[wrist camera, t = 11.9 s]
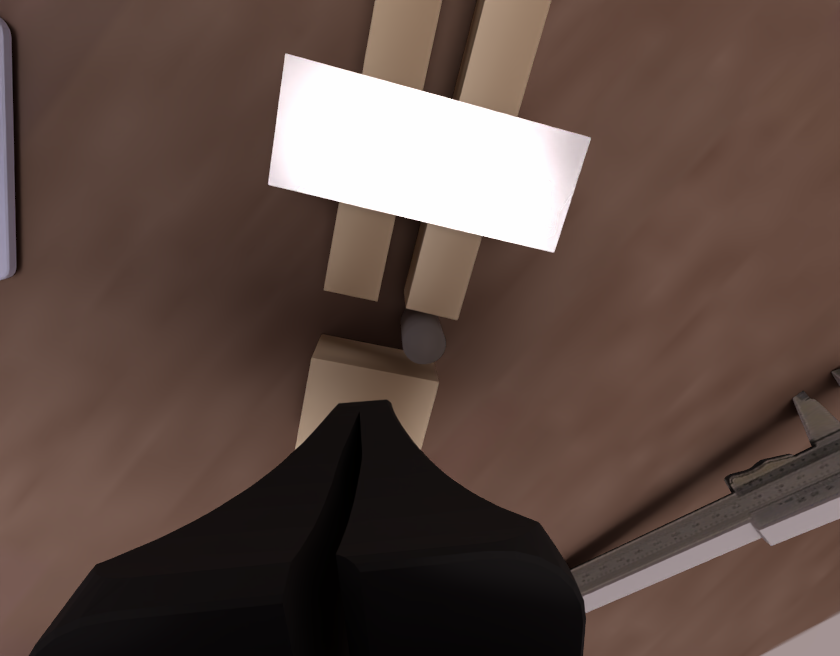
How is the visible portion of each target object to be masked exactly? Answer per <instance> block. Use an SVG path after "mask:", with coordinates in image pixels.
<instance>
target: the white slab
mask: <svg viewBox="0 0 840 656" xmlns="http://www.w3.org/2000/svg"><path fill="white" fill-rule="evenodd" d="M590 139H591V137H587V136H583V135H580V134H576V133H572V132H569V131H565V130H562V129H558V128H554V127H551V126H547V125H543V124H540V123H536V122H532V121H529V120H525V119H522V118H518V117H514V116H511V115H507V114H503V113H500V112H496V111H493V110H489V109H485V108H482V107H478V106H474V105H471V104H467V103H464V102H460V101H456V100H453V99H449V98H445V97H442V96H438V95H435V94H431V93H427V92H424V91H420V90H416V89H413V88H409V87H406V86H402V85H398V84H395V83H391V82H387V81H384V80H380V79H377V78H373V77H369V76H366V75H362V74H358V73H355V72H351V71H348V70H344V69H340V68H337V67H333V66H329V65H326V64H322V63H319V62H315V61H311V60H308V59H304V58H300V57H297V56H293V55H289V54H286V53H285V61H284V68H283V76H282V83H281V91H280V98H279V106H278V113H277V121H276V128H275V136H274V143H273V151H272V158H271V166H270V173H269V181H268V185H271V186H276V187H280V188H284V189H288V190H293V191H297V192H301V193H305V194H309V195H314V196H318V197H322V198H326V199H330V200H335V201H339V202H343V203H347V204H351V205H356V206H360V207H364V208H368V209H372V210H377V211H381V212H385V213H389V214H394V215H398V216H402V217H406V218H410V219H415V220H419V221H423V222H427V223H431V224H436V225H440V226H444V227H448V228H452V229H457V230H461V231H465V232H469V233H473V234H478V235H482V236H486V237H490V238H494V239H499V240H503V241H507V242H511V243H516V244H520V245H524V246H528V247H532V248H537V249H541V250H545V251H549V252H553V253H554V251H555V248H556V245H557V242H558V239H559V236H560V233H561V229H562V226H563V223H564V220H565V217H566V214H567V211H568V208H569V205H570V201H571V198H572V195H573V192H574V189H575V186H576V183H577V180H578V177H579V173H580V170H581V167H582V164H583V161H584V158H585V155H586V152H587V149H588V145H589V142H590Z"/></svg>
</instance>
